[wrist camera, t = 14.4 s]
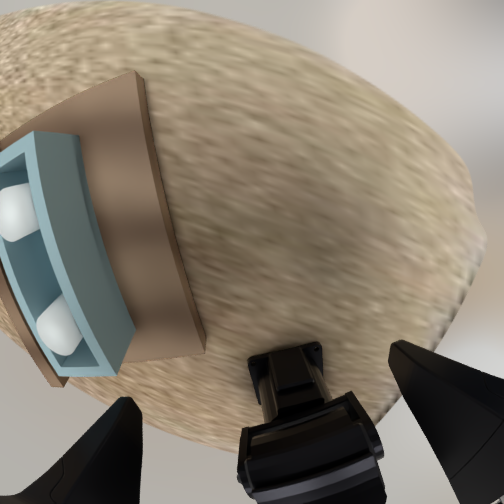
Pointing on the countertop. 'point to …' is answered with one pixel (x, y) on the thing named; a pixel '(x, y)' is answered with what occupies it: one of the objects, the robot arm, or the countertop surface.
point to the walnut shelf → (122, 221)
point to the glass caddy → (60, 257)
